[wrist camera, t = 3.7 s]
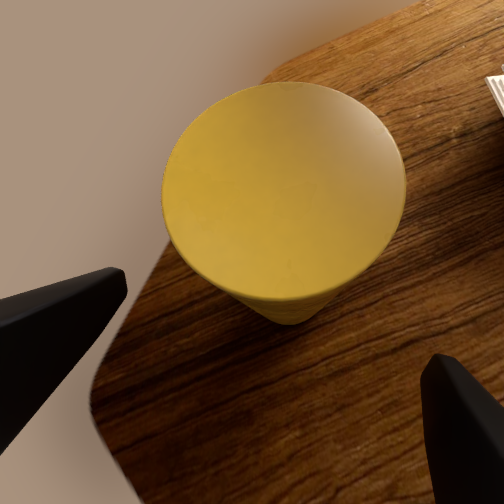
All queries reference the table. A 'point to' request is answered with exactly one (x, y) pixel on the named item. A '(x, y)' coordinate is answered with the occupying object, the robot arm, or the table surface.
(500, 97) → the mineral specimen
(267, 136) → the yellow tall cylinder
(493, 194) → the table surface
